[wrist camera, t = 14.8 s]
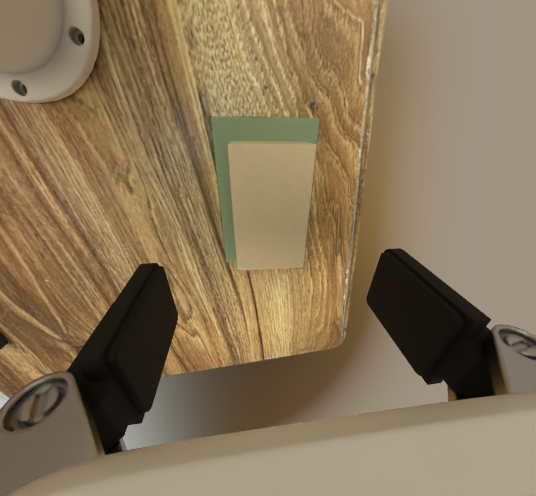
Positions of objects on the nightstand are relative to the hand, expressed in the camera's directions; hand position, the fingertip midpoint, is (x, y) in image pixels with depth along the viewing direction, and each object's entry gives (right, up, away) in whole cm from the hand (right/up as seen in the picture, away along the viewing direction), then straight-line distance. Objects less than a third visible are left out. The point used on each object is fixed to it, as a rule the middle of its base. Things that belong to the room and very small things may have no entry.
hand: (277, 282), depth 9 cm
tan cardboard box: (0, +6, +12) cm, 13 cm away
